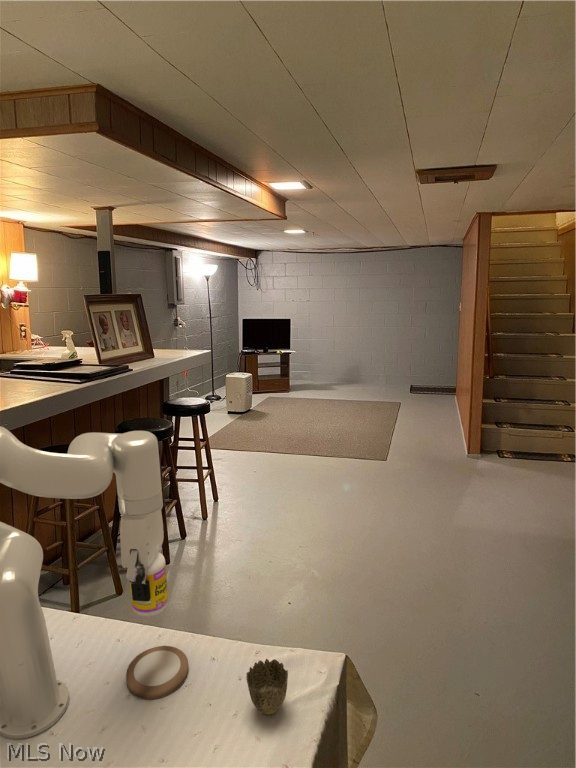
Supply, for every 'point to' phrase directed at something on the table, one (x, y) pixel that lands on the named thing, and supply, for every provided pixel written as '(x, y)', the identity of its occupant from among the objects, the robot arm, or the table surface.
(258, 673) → the brown scalloped shell
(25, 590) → the robot arm
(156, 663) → the plate
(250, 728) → the table surface
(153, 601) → the supplement bottle
